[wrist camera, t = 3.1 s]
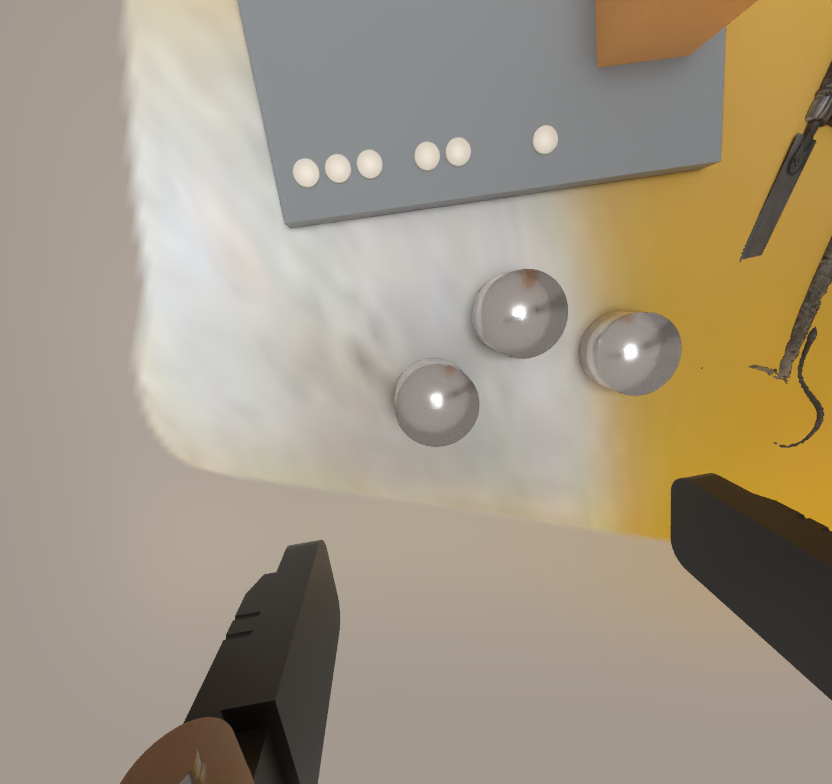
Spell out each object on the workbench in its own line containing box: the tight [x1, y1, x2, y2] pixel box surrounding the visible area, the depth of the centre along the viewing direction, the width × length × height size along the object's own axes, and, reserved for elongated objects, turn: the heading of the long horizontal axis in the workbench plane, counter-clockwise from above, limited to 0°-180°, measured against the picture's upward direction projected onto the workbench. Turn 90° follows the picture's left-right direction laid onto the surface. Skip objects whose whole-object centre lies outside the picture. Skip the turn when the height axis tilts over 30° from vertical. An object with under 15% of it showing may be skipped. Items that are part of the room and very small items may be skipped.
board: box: [237, 0, 726, 228], centre depth 19 cm, size 22×10×1 cm, turn 98°
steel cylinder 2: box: [472, 269, 568, 359], centre depth 21 cm, size 4×4×2 cm
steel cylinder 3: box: [579, 311, 681, 396], centre depth 22 cm, size 4×4×2 cm
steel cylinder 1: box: [394, 358, 479, 447], centre depth 21 cm, size 4×4×2 cm
